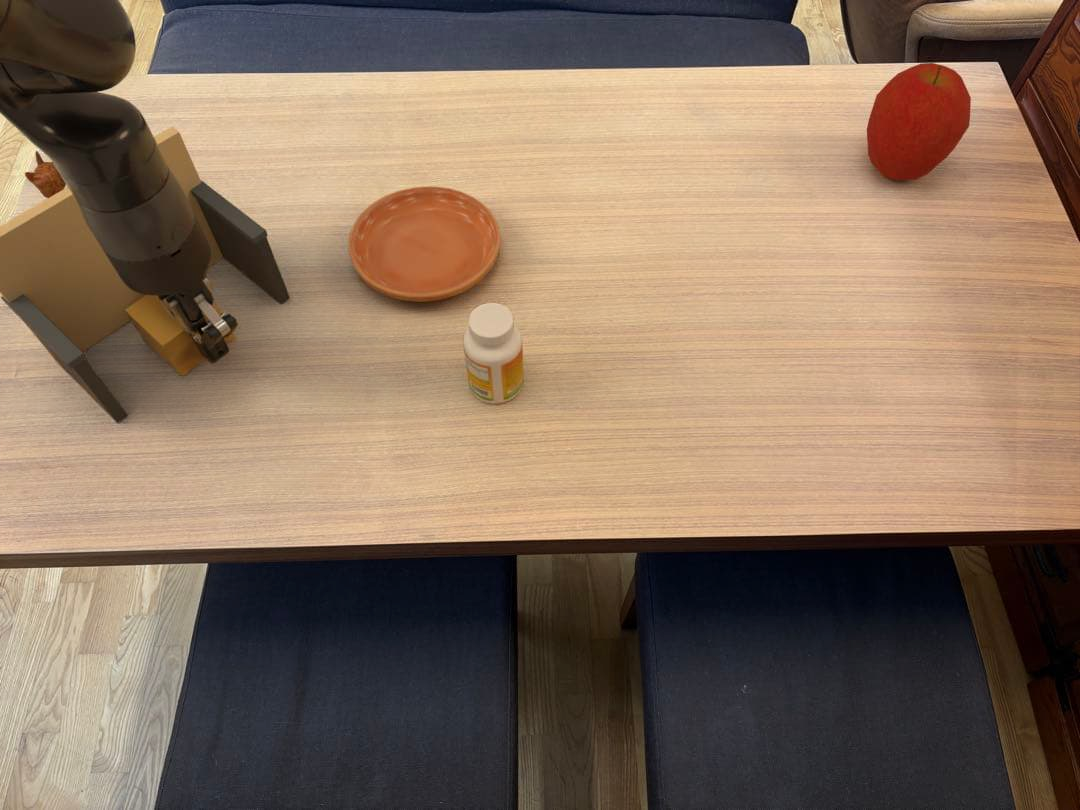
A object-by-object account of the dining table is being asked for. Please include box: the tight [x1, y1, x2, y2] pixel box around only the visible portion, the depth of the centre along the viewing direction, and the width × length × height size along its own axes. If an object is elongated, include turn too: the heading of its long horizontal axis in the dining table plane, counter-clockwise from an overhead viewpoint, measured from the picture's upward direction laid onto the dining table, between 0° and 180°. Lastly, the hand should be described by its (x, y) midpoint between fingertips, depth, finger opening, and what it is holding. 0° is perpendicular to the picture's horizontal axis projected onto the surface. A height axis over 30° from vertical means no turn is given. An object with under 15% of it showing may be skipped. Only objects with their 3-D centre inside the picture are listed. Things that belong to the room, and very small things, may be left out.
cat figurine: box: [24, 150, 67, 199], centre depth 90 cm, size 18×7×14 cm, turn 179°
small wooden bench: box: [0, 126, 291, 424], centre depth 80 cm, size 11×21×16 cm, turn 138°
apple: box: [866, 62, 972, 182], centre depth 93 cm, size 10×10×14 cm
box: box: [125, 295, 236, 377], centre depth 84 cm, size 6×6×5 cm
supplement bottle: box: [462, 302, 525, 405], centre depth 79 cm, size 5×5×10 cm
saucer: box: [347, 185, 501, 303], centre depth 91 cm, size 16×16×3 cm
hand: (216, 354), depth 82 cm, fingers closed
